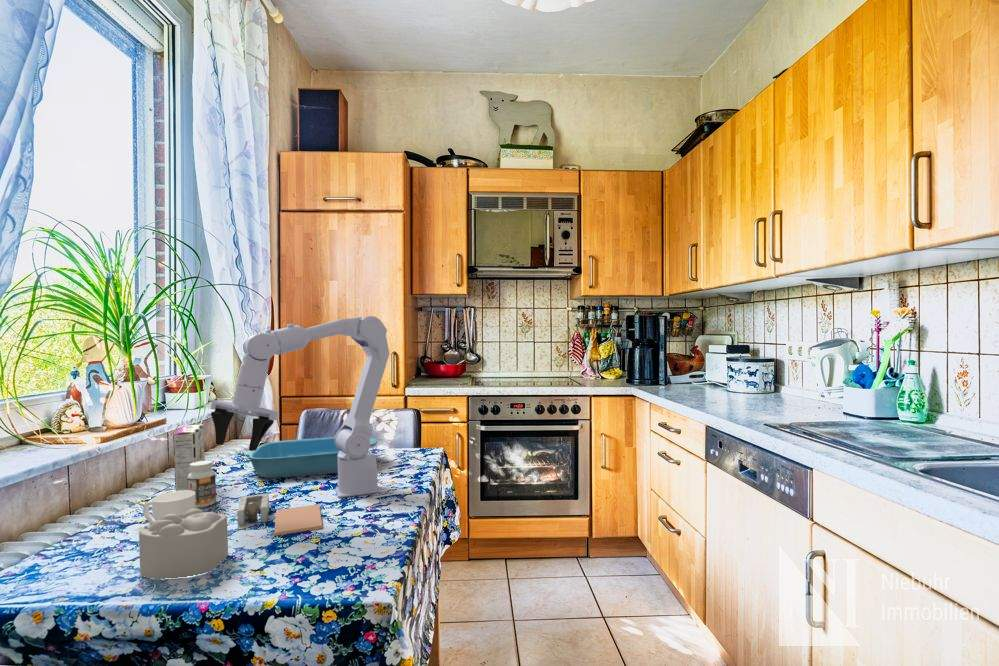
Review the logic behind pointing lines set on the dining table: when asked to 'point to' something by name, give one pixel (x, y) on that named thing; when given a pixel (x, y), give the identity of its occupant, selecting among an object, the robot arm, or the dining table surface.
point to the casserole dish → (296, 457)
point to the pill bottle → (202, 483)
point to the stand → (252, 512)
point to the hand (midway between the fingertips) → (236, 447)
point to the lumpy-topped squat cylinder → (183, 544)
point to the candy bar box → (187, 452)
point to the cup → (170, 504)
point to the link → (261, 505)
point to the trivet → (297, 519)
